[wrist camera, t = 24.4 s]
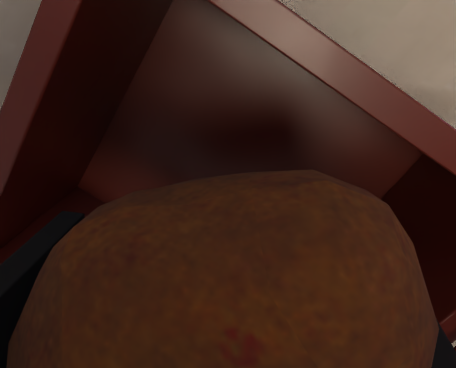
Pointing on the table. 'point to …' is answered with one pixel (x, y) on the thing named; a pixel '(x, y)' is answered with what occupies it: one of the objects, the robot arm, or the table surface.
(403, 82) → the table surface
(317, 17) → the table surface
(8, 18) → the table surface
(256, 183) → the potato
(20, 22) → the table surface
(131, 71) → the red box
